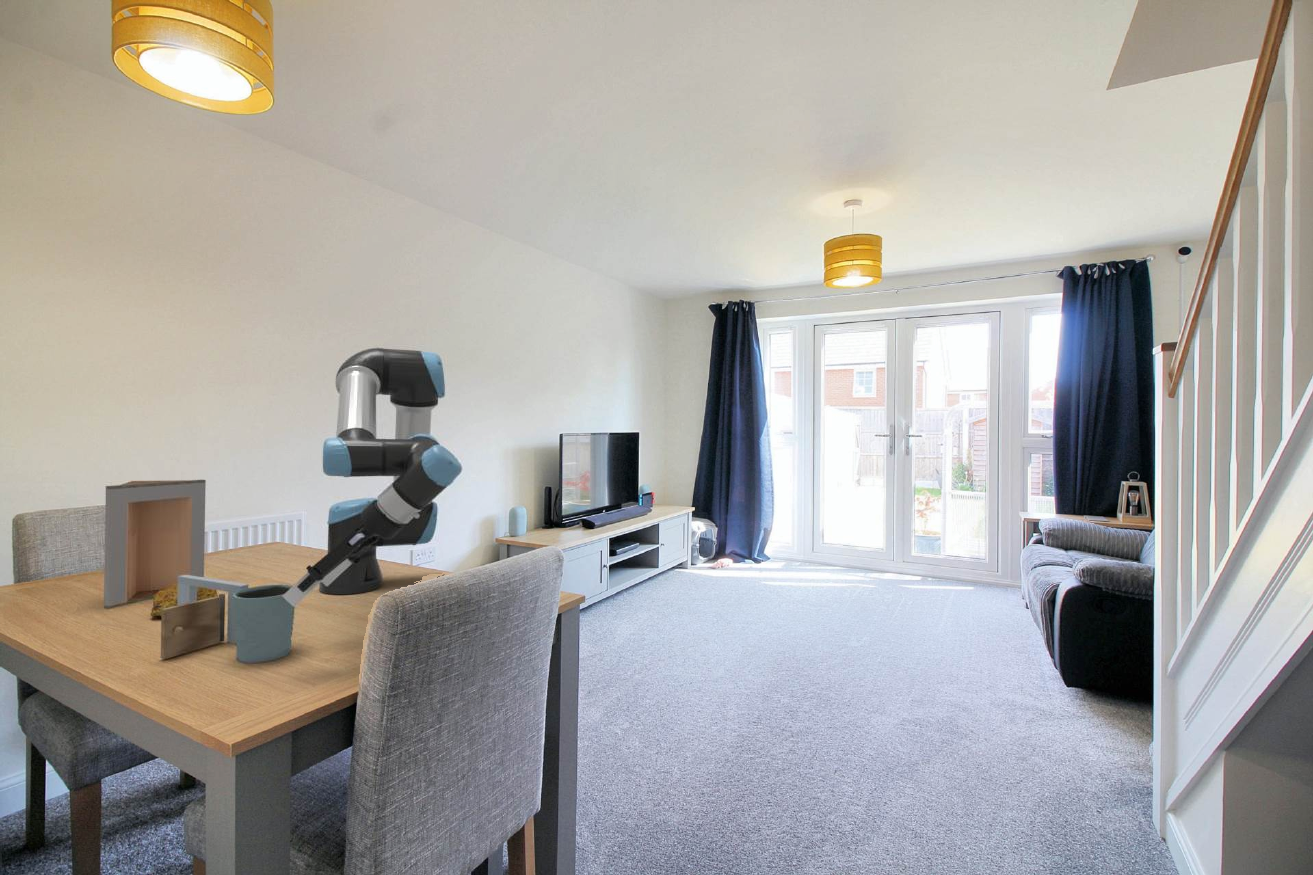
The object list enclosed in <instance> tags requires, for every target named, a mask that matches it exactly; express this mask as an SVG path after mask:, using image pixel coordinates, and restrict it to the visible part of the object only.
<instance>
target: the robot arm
mask: <svg viewBox="0 0 1313 875" xmlns="http://www.w3.org/2000/svg"><path fill="white" fill-rule="evenodd" d="M335 375H336V376H335V389H336V391H337V393H338V394H339V398H338V408H337V409H338V410H337V411H338V412H337V420H336V421H337V423H336V432H335V433H336V435H335V437H330V438H329V437H328V438H326V439H324V441H323V447H322V472H323V473H324V474H325V476H329V477H343V478H352V477H354V478H355V477H357V478H358V477H393V480H392V481H393V482H391V483H390V485H388V486H387V487H385V489H384V490H383V491H382V492H381V493H380V494H378V495H377V497H375V498H374V497H367V498H366V497H363V498H356V499H350V500H349V499H348V500H343V501H340V502H337V503H334V504H332V505H331V506H330V508H329V509H328V520H327V523H326V524H327V525H328V529H327V554H325V555H324V556H323V557H322V558H321V559H320V560H318V561H317V562H316V563H315V564H314V565H312V566H311V565H310V564H309V565H307V566H306V568H305V569H306V570H307V572H306V574H304V575H303V576H302V577H301V578H300V579H299V580H298V581H297V582H296V583H295V584H293V585H292V586H293V587H292V588H290V589H289V590H288V591H287V592H286V593H285V594H284V595H283V596H282V597H283V598H284V599H286V600H287V601H288V602H289V603H290V604H291V605H292V606H293V607H294V606H295V607H296V606H297V605H298V604H299V603H301V602H302V601H303V599H304V598H305V597H306V596H308V595H309V594H310V593H312V591H313V590H314V589H315V588H316V587H317V586H318V585H319V586H318V590H319V592H321V593H323V594H328V595H351V594H352V595H353V594H362V593H367V592H370V591H374V590H377V589H379V588H381V587H382V586H383V585H384V584H383V583H384V582H383V581H384V580H383V579H384V577H383V573H382V570H381V568H380V564H379V562H378V558H377V548H378V547H395V546H416V545H423V544H428V543H430V542H431V541H432V540H433V537H434V536H435V532H436V528H437V521H438V512H439V510H438V503H436V502H435V501H434V499H436V497H438V496H439V495H440V494H441V493H442V492H443V491H444V490H445V489H446V488H447V487H448V486H450V485H451V484H452V483H454V481H455V480H456V479H457V477H458V476H459V475H460V474H462V471H463V467H462V464H461V463H460V461H459V459H458V458H457V457H456V456H455V455H454V454H453V453H452V452H451V451H449V449H447V448H446V447H444V446H443V445H441V444H440V442H439V441H438V440H437V439H436V438H435V437H434V436H433V435H431V427H432V426H431V425H432V424H431V423H432V422H431V421H432V410H433V409H435V408H436V407H437V406H438V404H439V399H442V398H445V396H446V394H445V393H446V392H445V391H446V386H445V385H446V384H445V383H446V382H445V373H444V366H443V362H442V359H441V357H440V355H439V354H437V353H435V352H429V351H423V350H414V349H413V350H412V349H411V350H410V349H397V348H394V349H393V348H383V347H374V348H373V347H372V348H368V349H364V350H361V351H359V352H357V353H355V354H353V355H351V356H350V357H348V358H347V359H346V360H345V361H344V362H343V363H342V364H341V365H340V367H339V369H338V370H337V373H336V374H335ZM377 395H382V396H389V402H390V403H391V404H392V405H393V406H394V407H395V428H394V429H395V431H394V433H395V435H394V438H377Z"/></svg>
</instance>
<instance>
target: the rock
mask: <svg viewBox="0 0 1313 875" xmlns="http://www.w3.org/2000/svg"><path fill="white" fill-rule="evenodd" d="M217 596H219V594H218V590H215V589H208V588H202V587H197V601H199V600H203V599H208V598H212V597H217ZM177 598H178V582H177V583H175V584H173V585H172V586H171V587H170V588H168V589H166V590H162V591H159V592H158V593H157V594H156V595H155V596H154V599H152V602H153V605H152V608H151V612H150V616H151V617H161V611H162V609H164V608H168V607H173V606H177Z"/></svg>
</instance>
